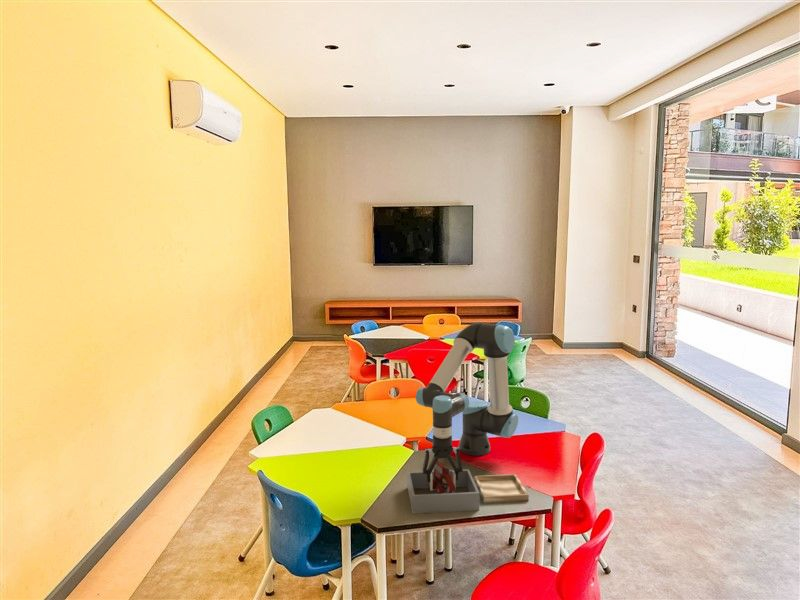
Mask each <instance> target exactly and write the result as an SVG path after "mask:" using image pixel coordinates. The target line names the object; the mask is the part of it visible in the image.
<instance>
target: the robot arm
mask: <svg viewBox="0 0 800 600" xmlns="http://www.w3.org/2000/svg"><path fill="white" fill-rule="evenodd" d="M515 339H516V338H515V334H514V332H513V330H512V328H511V327H509V326H507V325H502V324H493V323H485V322H474V323H471V324H469V325H467V326H466V327H465V328H463V329H462V330H461V331H460V332H459V333H458V334H456V336H455V338H454V339H453V340H452V341H453V345H452V346H451V348H450V349H449V352H448V353H447V355H446V356H445V358H444V359H443V361H442V362H441V364H440V365H439V367H438V369H437V371H436V372H435V373H434V375H433V377H432V378H431V380H430V381H429V383H428V384H427V386H426V387H425V386H424V387H419V388H417V390H416V392H415V393H416V394H415V401H416V403H417V404H418V405H420V406H422V407H425V408H431V409H432V447H431V448H428V447H425V449H424V451H425V452H424V453H425V455H424V460H423V466H422V470H421V471H423V474H427V481H428V482H430V488H429V490H430V491H432V492H433V491H434V490H433V476H432V471H434V466H435V464H436V462H437V461H438V462H439V459H447V460H448V462H449V463H450V465H451V467H452V470H454V471H452V482H453V483H454V485H455V490H456V488H457V487H456V481H458V474H459V472H462V471H463V470H464V469H463V465H462V460H461V456H460V453H463V454H465V455H469V456H477V457H478V456H484V455H488V454H489V453H490V451H491V443H490V441H489V437H488V434H491V435H495V436H497V437H500V438H511V437H513V435H514V434H515V432H516V430H517V427H518V423H519V416H518V414H516V413H514V411H513V410H514V409H513V406H512V405H511V404H510V397H509V396H510V394H509V373H508V372H509V371H508V357H509V356H510V355H511V353H512V352H513V350H514V348H515V344H516V343H515V342H516V340H515ZM474 349H483V356H484V357H485V358H487V373H488V374H487V375H488V389H489V404H490V405H488V403H487V402H485V401H478V400H477V401H470V399H469V397H468V395H467V394H465V393H464V392H461V391H460V392H456V393H454V394H453V393H448V392H446V390H447V389H448V387H449V385H450V383H452V380H453V379H454V377H455V375H456V374H457V372H458V371H459V369H460V368H461V366H462V364H463V363H464V361H465V360H466V358H467V356H468V355H469V354H472V352H473V351H474ZM461 413H462V435H461V437H460V439H459V442H458V446H456V447H455V446H453V436H452V435H453V417H455V416H456V415H457V416H458V415H459V414H461ZM452 452H453V453H455V457H456V463H457V465H456V464H455V462H454V460H453V458H452V456H451V454H452ZM432 453H433V457H432V459H431V462H430V463H429V460H430V455H431V454H432ZM457 466H458V467H457Z"/></svg>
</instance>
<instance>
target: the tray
mask: <svg viewBox="0 0 800 600" xmlns="http://www.w3.org/2000/svg"><path fill="white" fill-rule="evenodd" d="M473 479H474V482H475V484H476V486H477V488H478V491H479V493H480V498H481V500H482V502H483V504H488V503H489V504H490V503H492V502H494V503H511V502H510V501H514V502H529V499H530V498H529V495H530V494H529V493H528V492H527V490H526V488H525V486H524V484H523V483H522V482H521V480H520V478H519V477H518V475H517V474H516V473H508V474H507V473H506V474H488V475H487V474H485V475H481V474H480V475H474V477H473Z"/></svg>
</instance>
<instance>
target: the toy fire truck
mask: <svg viewBox="0 0 800 600" xmlns="http://www.w3.org/2000/svg"><path fill="white" fill-rule="evenodd" d="M449 470H450V468H447V467H445V466H444V465H443V464H441V462H439V460H438V461H437V462H436V464H435V466H434V468H433V471H434V479H433V491H434V490H435V491H436V494H444V493H445V492H446V493H455V491H456V489H455V485H454V483H453V482H452V480H451V475H450V474H449Z"/></svg>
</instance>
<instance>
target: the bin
mask: <svg viewBox="0 0 800 600" xmlns="http://www.w3.org/2000/svg"><path fill="white" fill-rule="evenodd" d="M452 471H454V469H449V474H450V475H451V480H452ZM406 472H407V482H406V483H407V493H408V498H409V502H410V508H412V509H411V512H412V513H411V514H425V512H430V513H449V512H450V513H451V512H465V511H467V512H469V511H480V500H481V499H480V498H481V495H480V493H479V491H478V488H477V486H476V484H475V482H474V477H473V475H472V473H471V470H470V469H468V468H467V469H463V471H462V472H459V474H458V481H456V488H457V487H459V488H460V487H467V489H468V492H452V493H447V492H446V493H445V492H444V494H437V493H428V494H427V493H426V494H423V493H422V494H415V491H414V490H415V489H416V488H418V489H430V482H428V481H427V474H423V470H420V471H406ZM432 476H433V479H434V470H432ZM416 490H417V489H416Z"/></svg>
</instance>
